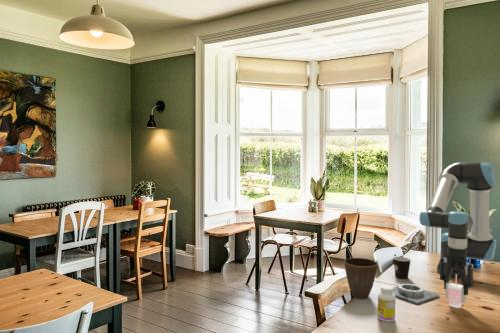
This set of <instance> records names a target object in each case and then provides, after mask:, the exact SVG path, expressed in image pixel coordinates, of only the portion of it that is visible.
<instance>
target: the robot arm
mask: <svg viewBox="0 0 500 333" xmlns="http://www.w3.org/2000/svg"><path fill="white" fill-rule="evenodd" d="M496 178H497V176H496V170H495V167H494V165H493V164H492V163H489V162H483V161H479V162H472V161H471V162H469V161H468V162H467V161H466V162H465V161H464V162H463V161H460V162H454V163H452V164H450V165H448V166H447V167H446V168H444V169H443V170H442V171H441V173H440V174H439V176H438V179H437V182H438V185H437V187H436V189H435V191H434V194H433V196H432V198H431V201H430V202H429V203H430V204H429V206H428V208H427V209H426V210H425V209H424V210H421V212H420V213H419V224H420V225H421V226H424V227H428V228H435V229H436V228H438V229H446V230H448V232H444V233H442V234H441V236H440V258H439V261H438V264H437V266H436V273H438V274H439V280H440V281H443V282H444V283H443V284H444V285H443V289H444V290H445V298H446V299H449V287H448V284H451V283H452V282H451V280H450V279H451V278H456V274H457V278H460V279H461V282H462V286H463V287H461V302H462V304H463V303H466V302H467V295H469V289H470V288H473V287H474V267H475V264H474V263H470V262H468V259H474V260H479V261H487V262H490V261H493V259H494V256H495V251H496V247H497V240H496V239H494V238H493V235H492V233H490V191H491V190H492V189H493V187H494V186H496V183H497V179H496ZM458 185H465V186H466V189H467V190H468V191H469V202H470V203H469V204H470V205H469V207H470V208H469V209H470V210H469V211H470V213H469V214H468V213H467V212H466V211H465V212H464V211H458V210H457V211H450V212H446V211H447V208H448V206H449V203H450V201H451V197H452V195H453V192H454V190H455V188H456V187H457V186H458ZM469 230H470V232H468V231H469Z"/></svg>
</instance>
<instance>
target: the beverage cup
mask: <svg viewBox="0 0 500 333" xmlns="http://www.w3.org/2000/svg"><path fill="white" fill-rule="evenodd" d="M457 278H458V277H457V274H456V277H455V283H452V282H451V284H448V287H449V297H448V299H449V303H448V304H449V306H450V307H452V308H455V309H456V308H457V309H460V308H462V304H463V303H462V302H461V287H463V284H460V283H458V281H457V280H458V279H457Z"/></svg>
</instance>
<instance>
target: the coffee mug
mask: <svg viewBox="0 0 500 333" xmlns="http://www.w3.org/2000/svg"><path fill="white" fill-rule="evenodd" d="M392 263H393V267H394V268H393V269H394V276H395V278H397V279H399V280H400V279H401V280H407V279H408V278H409V272H410V266H411V259H410V258H408V257H404V256H403V257H402V256H394V257H393V259H392Z"/></svg>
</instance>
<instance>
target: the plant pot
mask: <svg viewBox="0 0 500 333" xmlns="http://www.w3.org/2000/svg"><path fill="white" fill-rule="evenodd" d="M343 263H344V270H345V275H346V279H347V283H348V287H349V290H350V293H351V296H352V297H354V298H355V299H356V298H357V299H368V298H369V297H370V294H371V292H372V289H373V286H374V282H375V280H376V275H377V274H376V273H377V269H378V262H377V261H375V260H372V259H368V258H361V257H353V258H352V257H351V258H350V257H349V258H346V259H344V262H343Z"/></svg>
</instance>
